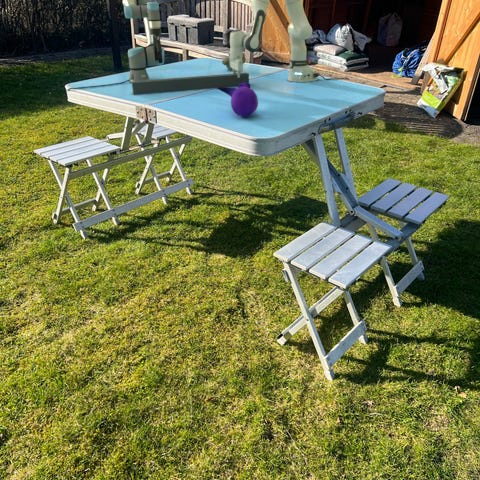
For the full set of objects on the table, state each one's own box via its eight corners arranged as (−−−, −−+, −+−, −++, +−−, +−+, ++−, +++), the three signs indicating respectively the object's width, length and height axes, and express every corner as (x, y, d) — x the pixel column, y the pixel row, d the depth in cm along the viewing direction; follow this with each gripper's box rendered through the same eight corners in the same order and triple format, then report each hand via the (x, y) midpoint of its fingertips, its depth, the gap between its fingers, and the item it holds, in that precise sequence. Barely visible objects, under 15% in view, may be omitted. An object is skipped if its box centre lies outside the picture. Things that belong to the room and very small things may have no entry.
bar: (133, 94, 300) (132, 82, 296) (132, 93, 304) (131, 81, 301) (249, 85, 320) (248, 73, 316) (246, 83, 325) (246, 72, 321)
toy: (241, 106, 267) (257, 123, 246) (213, 101, 259) (228, 118, 239) (248, 79, 259) (266, 94, 238) (220, 73, 251) (235, 89, 231)
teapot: (225, 72, 362) (225, 52, 354) (219, 70, 371) (218, 51, 363) (248, 69, 371) (248, 50, 364) (241, 67, 380) (241, 48, 372)
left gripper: (164, 29, 291) (167, 63, 301) (157, 26, 312) (160, 59, 322) (152, 29, 289) (156, 64, 299) (146, 27, 309) (150, 59, 320)
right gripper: (245, 57, 302) (245, 78, 309) (236, 53, 319) (236, 73, 326) (236, 57, 301) (236, 79, 308) (227, 53, 318) (228, 74, 325)
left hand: (158, 61), depth 311 cm, fingers open, 13 cm apart
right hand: (236, 76), depth 317 cm, fingers open, 8 cm apart
